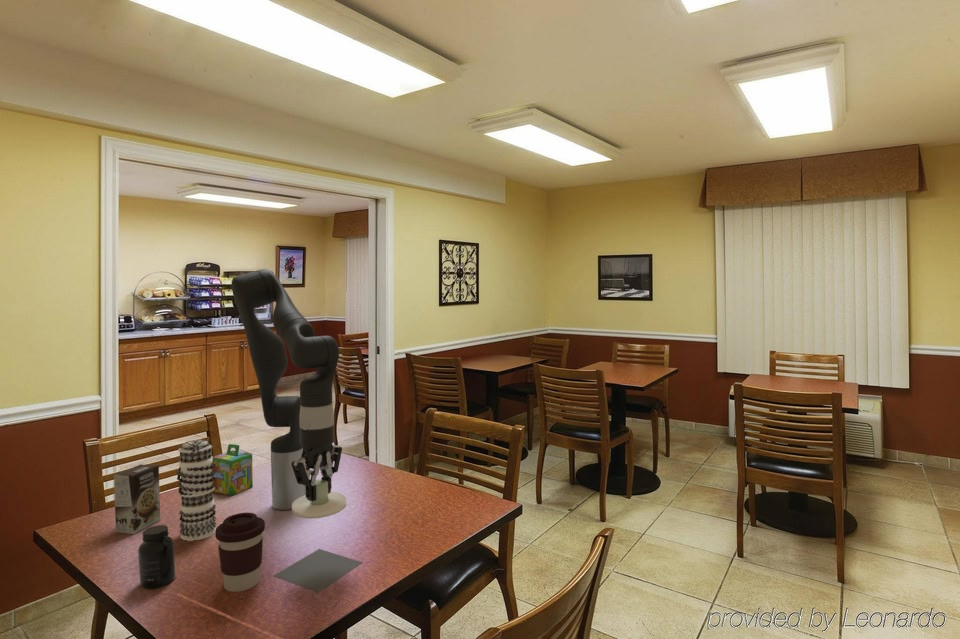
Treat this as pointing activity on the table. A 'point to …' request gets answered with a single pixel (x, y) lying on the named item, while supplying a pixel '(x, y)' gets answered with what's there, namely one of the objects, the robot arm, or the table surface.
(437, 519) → the table surface
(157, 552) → the supplement bottle
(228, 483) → the chalk box
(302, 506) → the lid
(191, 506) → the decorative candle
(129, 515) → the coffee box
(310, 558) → the mat
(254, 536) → the coffee cup
